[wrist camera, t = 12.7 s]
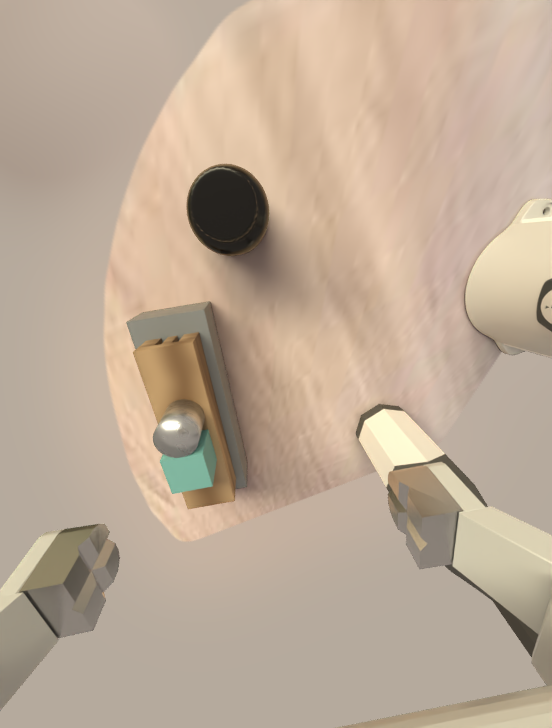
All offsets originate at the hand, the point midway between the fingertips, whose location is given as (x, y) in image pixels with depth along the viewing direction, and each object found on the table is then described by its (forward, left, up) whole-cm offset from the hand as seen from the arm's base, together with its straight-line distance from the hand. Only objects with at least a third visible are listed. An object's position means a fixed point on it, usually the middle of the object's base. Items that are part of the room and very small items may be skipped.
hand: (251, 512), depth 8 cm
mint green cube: (+8, +12, -20) cm, 25 cm away
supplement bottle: (0, -10, -29) cm, 31 cm away
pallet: (+8, +10, -24) cm, 27 cm away
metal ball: (+8, +8, -20) cm, 23 cm away
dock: (+8, +10, -29) cm, 32 cm away
